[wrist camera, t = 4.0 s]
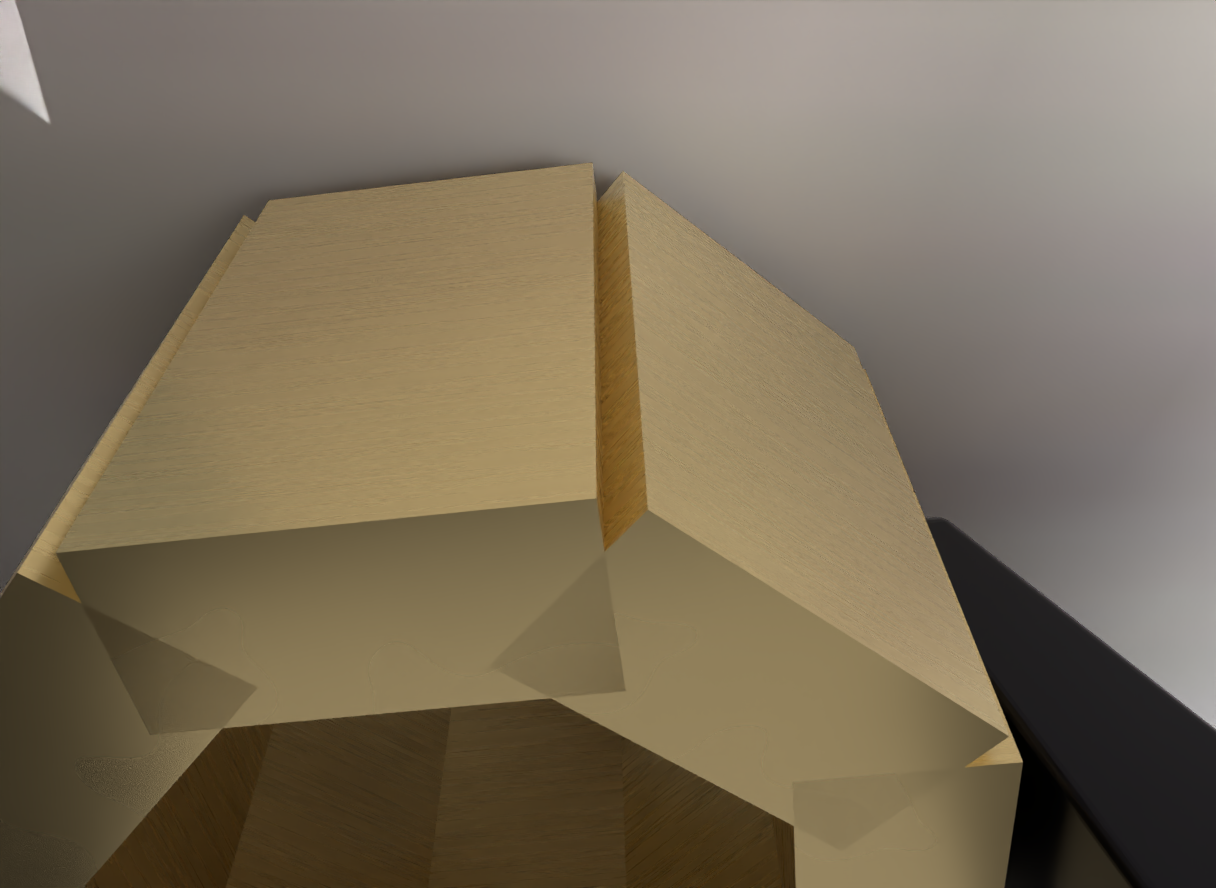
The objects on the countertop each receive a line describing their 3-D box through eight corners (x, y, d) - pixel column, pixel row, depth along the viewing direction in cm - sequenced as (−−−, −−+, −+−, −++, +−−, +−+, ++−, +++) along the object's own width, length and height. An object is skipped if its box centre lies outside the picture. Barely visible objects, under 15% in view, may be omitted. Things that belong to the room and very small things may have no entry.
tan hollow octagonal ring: (857, 729, 12) (966, 1148, 8) (257, 783, 12) (132, 1205, 9) (868, 131, 8) (1070, 451, 5) (5, 230, 8) (-376, 595, 5)
